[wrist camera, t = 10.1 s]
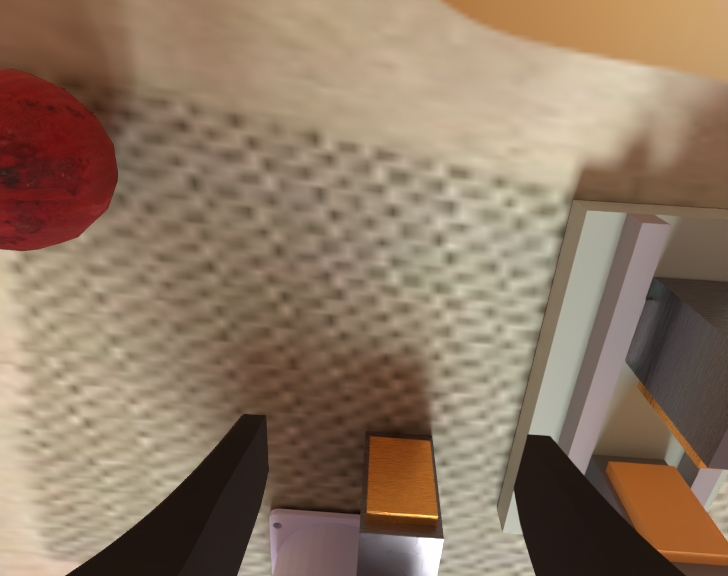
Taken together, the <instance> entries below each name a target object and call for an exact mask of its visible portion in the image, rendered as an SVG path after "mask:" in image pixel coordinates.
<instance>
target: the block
mask: <svg viewBox="0 0 728 576" xmlns="http://www.w3.org/2000/svg"><path fill="white" fill-rule="evenodd" d="M443 541H444V537H443V528H442V520H441V511H440V502H439V493H438V484H437V475H436V466H435V457H434V449H433V440H432V436H422V435H408V434H395V433H381V432H367V431H366V435H365V450H364V465H363V479H362V495H361V510H360V526H359V542H358V558H357V573H356V576H437V573H438V568H439V562H440V557H441V552H442V546H443Z"/></svg>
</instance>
